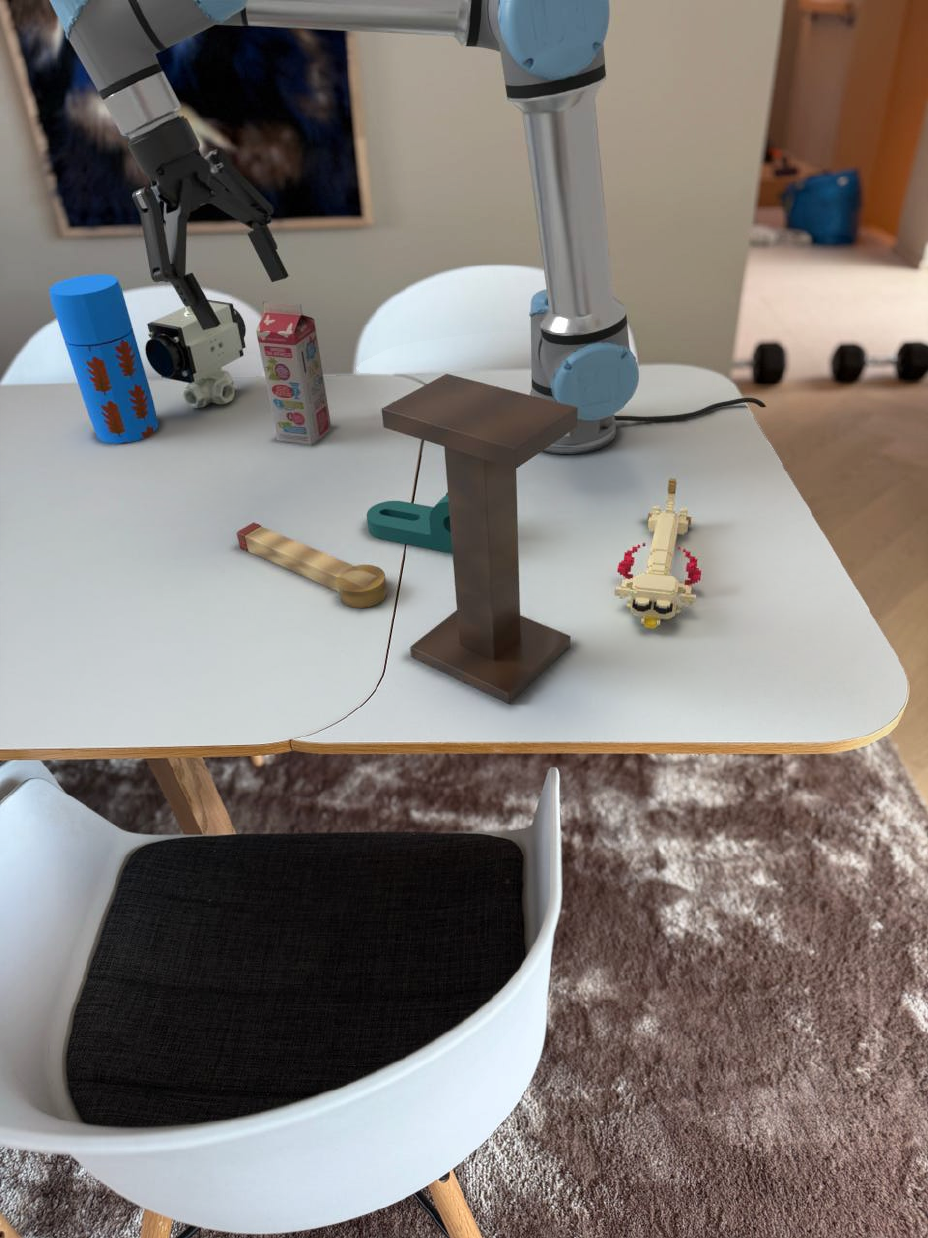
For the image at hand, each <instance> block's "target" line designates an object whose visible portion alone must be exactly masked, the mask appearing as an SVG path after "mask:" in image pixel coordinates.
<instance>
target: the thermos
mask: <svg viewBox="0 0 928 1238" xmlns="http://www.w3.org/2000/svg"><path fill="white" fill-rule="evenodd" d="M48 292H49V296H50V301H51V305H52V309H53V312H54V314H55V317H56V320H57V324H58V326H59V329H60V332H61V335H62V338H63V341H64V344H65V345H64V346H65V348H66V350H67V353H68V357H69V360H70V362H71V366H72V368H73V371H74V374H75V378H76V381H77V384H78V386H79V390H80V393H81V396H82V399H83V402H84V405H85V408H86V411H87V414H88V417H89V420H90V422H91V425H92V427H93V430H94V432H95V435H96V437H97V439H98V440H99V441H100V442H103V443H106V444H115V445H120V444H129V443H132V442H136V441H141V440H143V439H145V438H147V437H149V436H151V435H153V434H154V433H155V432H156V431H157V430H158V428H159V419H158V418H157V417H158V415H157V412H156V407H155V402H154V399H153V395H152V391H151V388H150V384H149V382H148V377H147V374H146V370H145V368H144V363H143V360H142V357H141V352H140V349H139V346H138V342H137V339H136V335H135V332H134V327H133V324H132V321H131V317H130V314H129V310H128V307H127V302H126V299H125V296H124V292H123V289H122V286H121V284H120V282H119V279H118V277H116V276H115V275H110V274H87V275H86V274H85V275H80V276H75V277H71V278H68V279H65V280H61V281H59V282H56V283H54V284H53V285H52V286H50V288H49V291H48Z"/></svg>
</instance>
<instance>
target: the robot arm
mask: <svg viewBox="0 0 928 1238" xmlns="http://www.w3.org/2000/svg"><path fill="white" fill-rule="evenodd" d="M49 2H50V4H51V6H52V8H53V11H54V12H55V14H56V16H57V18H58V20H59V22H60V24H61V27H62V29H63V31H64V33H65V34H64V35H65V38H66V40H67V41H69V43H70V44H71V47H72V48H73V50H74V52H75V53H76V55H77V57H78V58H79V60H80V62H81V63H82V65H83V67H84V69H85V71H86V73H87V74H88V76H89V78H90V80H91V81H92V83H93V85H94V86H95V88H96V90H97V92H98V94H99V96H100V97H101V99H102V102H103V104H104V105H105V108H106V109H107V111H108V112H109V115H110V116H111V118H112V120H113V122H114V124H115V125H116V127H117V129H118V131H119V133H120V135H121V136H123V137H128V138H129V141H128V142H127V144H128V146H127V147H128V150H129V151H130V153H131V155H132V156H133V159H134V160H135V162H136V164H137V166H138V168H139V169H140V171H141V173H143V174H144V175H146V176H147V177H148V179H149V183H150V186H144V187H142V188H140V189H137V190H134V191H133V192H132V195H131V198H132V200H133V202H134V204H135V206H136V208H137V211H138V213H139V217H140V221H141V222H140V223H141V228H142V232H143V239H144V244H145V250H146V255H147V261H148V265H149V266H148V269H149V273H150V277H151V280H152V281H153V282H154V283H160V282H164V283H170V284H171V285H172V287H173V289H174V290H175V292H176V294H177V296H178V297H179V299H180V301H181V303H182V304H183V306H184V305H185V306H186V307H188V306H190V308H191V309H192V311H193V313H194V315H195V316H196V318H197V320H198V322H199V324H200V325H201V327H202V329H203V330H206V329H210V328H214V327H217V326H219V325H220V324H221V323H220V322H219V320H218V318H217V316H216V314H215V313H214V311H213V309H212V307H211V305H210V303H209V302H208V300H209V299H208V297H207V296H206V294H205V292H204V291H203V288H202V287H201V285H200V284H199V281H198V280H197V277H196V276H195V274H194V273H193V272H190V273H186V272H187V270H186V269H187V265H186V264H187V232H188V230H187V229H188V220H189V218H190V213H192V212H194V211H196V210H198V209H199V208H200V207H201V206H203V205H207V204H211V205H213V206H215V207H216V208H218V209H219V210H221V211H223V212H224V213H225V214H227V215H228V216H230V217H232V218H233V219H235V220H236V221H239V223H241V224H243V225H244V226H246V227H247V228H249V229H251V230H250V231H249V232H247V236H248V238H249V240H250V243H251V244H252V246H253V248H254V250H255V252H256V254H257V256H258V258H259V260H260V262H261V264H262V266H263V268H264V270H265V272H266V274H267V276H268V277H269V280H270V281H271V283H274V282H278V281H281V280H286V279H287V278H288V277H290V275H289V273H288V271H287V270H286V267H285V265H284V262H283V261H282V258H281V257H280V255H279V253H278V251H277V250H278V244H277V242H276V240H275V238H274V236H273V234H272V232H271V230H270V228H269V224H271V223H272V216H271V215H273V214H274V213H275V212H274V211H275V210H274V206H273V205H272V204H271V203H270V202H269V201H268V200H267V199H266V198H265V197H264V196H263V195H262V194H261V193H260V192H259V191H258V190H257V189H256V188H255V187H254V186H253V185H252V184H251V183H250V182H249V181H248V179H246V178H245V177H244V176H243V175H242V173H240V172H239V170H237V168H235V166H233V164H232V163H231V161H230V159H229V158H228V156H227V155H226V154H227V153H225V151H224V150H223V149H222V148H221V147H218V148H216V149H213V150H212V151H211V150H210V151H209V152H206V153H205V154H204V156H203V155H202V153H201V152H200V146H201V144H200V141H199V139H198V137H197V134H196V133H195V131H194V129H193V127H192V125H191V123H190V121H189V119H188V117H185V116H184V115H181V114H180V112H179V111H180V110H181V109H182V105H181V103H180V101H179V99H178V97H177V95H176V93H175V91H174V89H173V87H172V85H171V84H170V82H169V80H168V78H167V76H166V74H165V72H164V70H163V68H162V66H161V65H160V63H159V60H158V58H157V55H156V54H158V53H161V52H163V51H165V50H168V48H170V47H172V46H174V45H177V44H179V43H181V42H184V40H187V39H189V38H192V37H194V36H196V35H198V34H200V33H201V32H204V31H206V30H207V29H210V28H211V27H214V26H215V25H216V26H217V25H218V26H234V27H235V26H237V27H238V26H239V27H244V26H247V27H248V26H249V27H269V28H287V29H305V30H306V29H307V30H326V31H328V30H329V31H345V32H365V33H383V34H403V35H420V36H422V35H423V36H441V37H453V38H455V39H456V41H457V42H458V43H459V44H460V46H462V47H472V48H482V49H487V50H491V51H496V52H499V53H500V59H501V67H502V71H503V72H502V73H503V80H504V86H505V92H506V93H505V94H506V99H507V101H509V102H510V103H511V104H513V105H514V107H516V108H517V109H519V110H520V112H521V113H522V121H523V129H524V135H525V143H526V150H527V156H528V165H529V171H530V173H529V174H530V179H531V187H532V193H533V202H534V208H535V215H536V223H537V231H538V237H539V244H540V252H541V258H542V259H541V260H542V264H543V265H542V266H543V273H544V280H545V289H542V290H539V291H537V292H536V293H534V294H533V296H532V297H531V300H530V311H529V312H528V316H529V317H530V369H531V370H530V371H531V373H530V374H531V375H530V377H531V387H530V388H531V389H530V393H529V395H531V396H535V397H539V398H543V399H546V400H550V401H554V402H558V403H562V404H566V405H570V406H574V407H577V408H578V418H577V427H576V428H575V429H573V430H572V431H571V432H569V433H568V434H566V435H565V436H563V437H562V438H560V439H559V440H557V441H556V442H555V443H553V444H552V445H550V446H549V447H547V448H546V449H544V450H543V451H542V452H545V453H549V454H557V455H575V454H576V455H577V454H584V453H589V452H593V451H597V450H599V449H602V448H604V447H606V446H607V445H609V444H610V443H611V442H612V441H613V440H614V439H615V437H616V433H617V432H616V430H617V421H619V422H621V421H623V422H625V421H626V422H627V421H628V422H666V421H668V422H669V421H677V420H684V419H691V418H695V417H698V416H701V415H704V414H706V413H709V412H710V411H713V410H715V409H716V410H717V409H719V408H723V407H730V406H733V405H738V404H743V403H751V404H755V405H757V406H759V408H767V405H766V404H765V403H764V402H763V401H761V400H760V399H758V398H755V397H740V398H735V399H731V400H725V401H721V402H717V403H713V404H710V405H707V406H706V407H703V408H701V409H699V410H695V411H692V412H687V413H680V414H673V415H671V414H670V415H652V416H649V415H648V416H638V415H615V414H616V413H619V412H620V411H621V410H622V409H623V408H624V407H625V406H626V405H627V404H628V402H630V401H631V399H632V398H633V397H634V395H635V393H636V391H637V389H638V386H639V381H640V371H639V364H638V362H637V358H636V356H635V355H634V353H633V351H631V347H630V339H629V337H630V336H629V327H628V318H627V317H628V316H627V307H626V306H625V304H624V303H623V302H621V301H620V300H618V299H617V298H615V296H614V289H613V280H612V269H611V268H612V267H611V258H610V247H609V246H610V245H609V238H608V236H609V235H608V227H607V226H608V224H607V215H606V204H605V193H604V184H603V183H604V181H603V173H602V161H601V150H600V141H599V140H600V139H599V131H598V129H599V128H598V119H597V108H596V96H597V93H598V92H599V90H600V89H601V87H602V86H603V84H604V83H605V81H606V80H607V71H606V58H605V57H606V55H605V46H604V45H605V44H604V43H605V40H606V38H607V35H608V30H609V23H610V14H611V11H610V10H611V9H610V0H49ZM212 174H213V175H214V176H215V178H216V179H217V180H218V181H217V180H215V179H214V178H213V177H212ZM226 189H227V190H226ZM160 202H163V213H162V209H161V205H160ZM164 221H165V224H164ZM185 306H184V307H185Z"/></svg>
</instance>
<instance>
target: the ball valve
mask: <svg viewBox="0 0 928 1238" xmlns="http://www.w3.org/2000/svg"><path fill="white" fill-rule="evenodd" d="M207 300H208V302H209V303H210V305H211V307H212V309H213V311H214V313H215V314H216V316H217V318H218V320H219V322H220V323H221V324H220V325H219V326H217V327H214V328H210V329H206V330H203V329H202V327H201V325H200V324H199V322H198V320H197V318H196V316H195V315H194V313H193V311H192V309H191V308H190V306H188V307H186V306H185V305H184V304H183V306H184V307H182V308H180V309H177V310H175V311H173V312H170V313H167V314H166V315H164V316H161V317H159V318H157V319H155V320H152V321H151V322H149V323H146V325H147V329H148V337H149V338H150V339H149V340H147V342H146V343H145V349H144V352H145V356H146V359H147V361H148V364H149V365H150V367H151V368H152V369H153V370H154V371H155V372H156V373H157V374H158V375H160V377H161V378H162V379H163V378H165V379H167V380H173V381H178V382H183V383H187V386H186V387H184V388H183V389H184V390H183V394H182V397H183V399H184V401H185V403H186V404H187V405H188V406H189V407H190V408H193V409H199V408H204V407H206V406H208V405H210V404H211V403H212V404H216V405H225V404H228V403H230V402H232V401H233V400H234V397H235V391H236V389H235V387H234V382H235V381H234V379H233V376H232V375H231V374H230V372H229V371H228V370H224V369H223V367H225V366H227V365H228V364H230V363H233V362H235V361H237V360H239V359H240V358H242V357H244V356H245V354H244V350H243V349H245V348H246V342H245V337H246V334H247V333H246V332H247V327H246V323H245V320H244V318H243V317H242V315H241V313H240V312H239V310H237V309H236V308H234V304H233V302H225V301H220V300H212V299H207Z"/></svg>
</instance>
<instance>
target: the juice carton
mask: <svg viewBox="0 0 928 1238" xmlns="http://www.w3.org/2000/svg"><path fill="white" fill-rule="evenodd" d="M262 305H263V312H264V313H263V314H262V317H261V319H260V321H259V323H258V325H257V328H256V330H255V332H256V338H257V343H258V347H259V353H260V358H261V363H262V369H263V373H264V379H265V383H266V389H267V395H268V399H269V403H270V409H271V414H272V420H273V425H274V429H275V434H276V435H275V436H276V439H277V441H278V442H286V443H294V444H300V445H307V446H308V445H309V446H313V445H314V444H316V443H317V442H318V441H319V440H320V439H321V438H322V437H323V436H324V435H326V433H328V432H329V431H330V430H331V429H332V424H331V418H330V411H329V410H330V409H329V405H328V398H327V392H326V385H325V379H324V373H323V366H322V362H321V361H322V359H321V353H320V347H319V342H318V341H319V339H318V335H317V334H318V333H317V328H316V323H315V319H314V318H313V317H311V316H307V315H304V314H303V308H302V304H296V303H284V302H275V301H274V302H273V301H262Z"/></svg>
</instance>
